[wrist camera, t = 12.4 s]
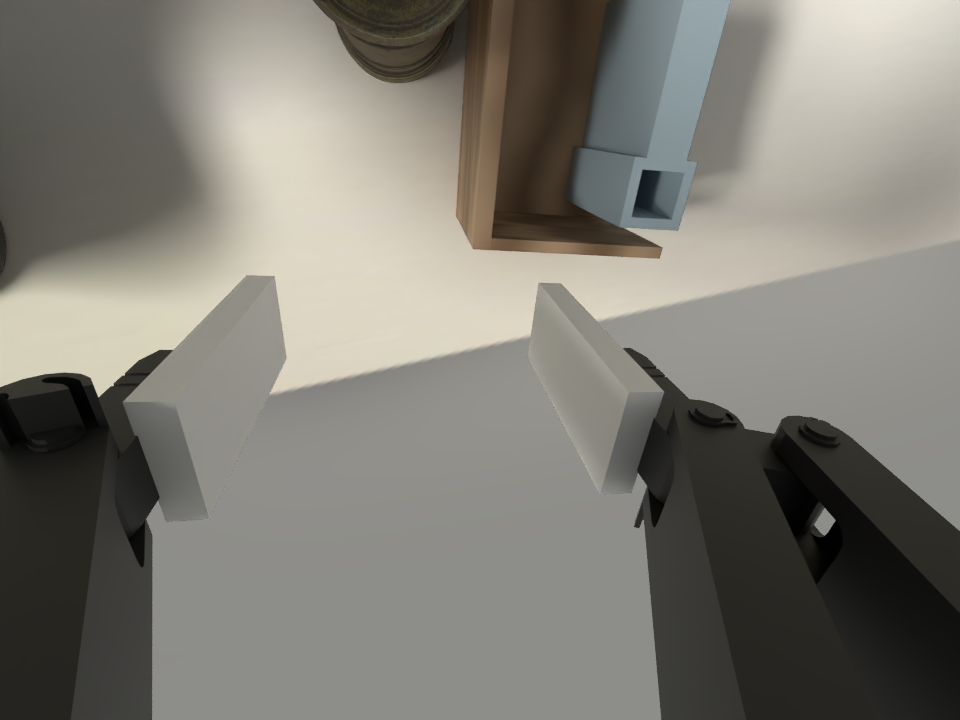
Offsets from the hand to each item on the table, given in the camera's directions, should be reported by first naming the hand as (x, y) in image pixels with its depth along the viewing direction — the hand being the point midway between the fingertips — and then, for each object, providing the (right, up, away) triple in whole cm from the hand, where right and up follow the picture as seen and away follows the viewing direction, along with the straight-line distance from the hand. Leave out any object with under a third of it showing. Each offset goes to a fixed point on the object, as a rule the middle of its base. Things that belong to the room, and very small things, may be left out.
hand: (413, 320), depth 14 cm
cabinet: (+8, +20, +23) cm, 32 cm away
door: (+13, +20, +23) cm, 33 cm away
